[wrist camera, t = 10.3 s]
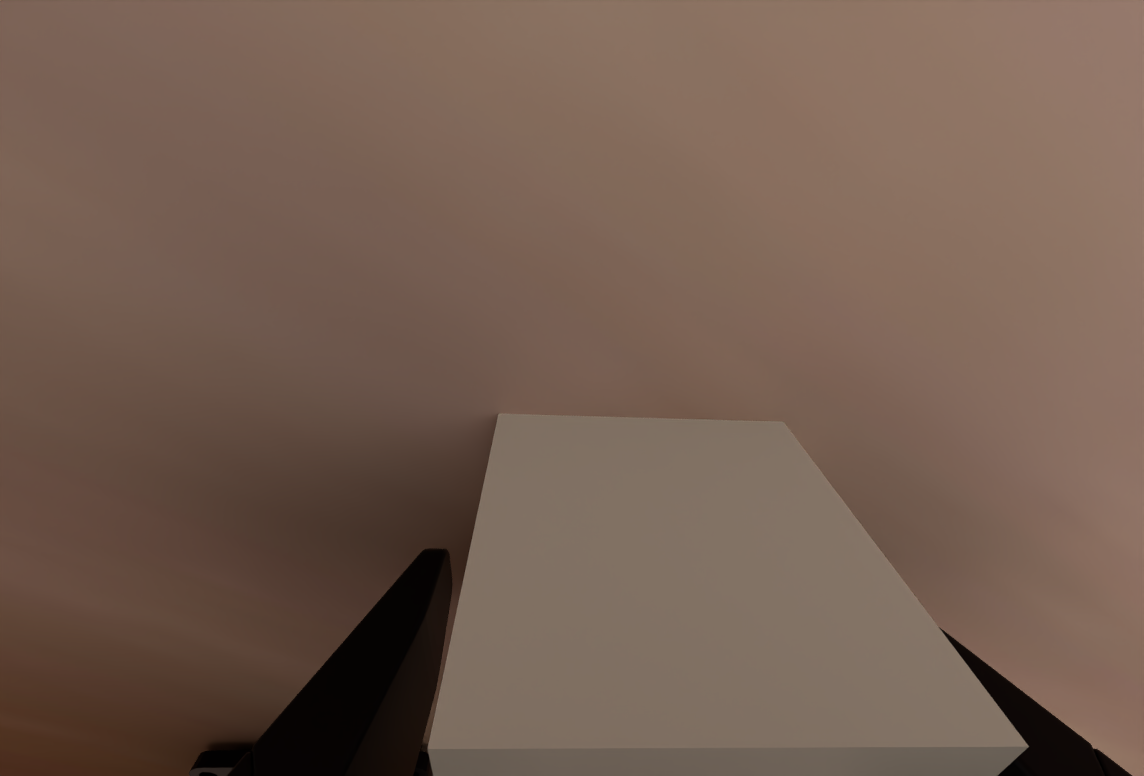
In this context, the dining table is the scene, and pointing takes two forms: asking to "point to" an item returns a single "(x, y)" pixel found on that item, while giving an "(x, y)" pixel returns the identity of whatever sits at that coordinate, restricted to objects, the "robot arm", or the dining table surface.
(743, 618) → the cream block
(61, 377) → the dining table surface
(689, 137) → the dining table surface
